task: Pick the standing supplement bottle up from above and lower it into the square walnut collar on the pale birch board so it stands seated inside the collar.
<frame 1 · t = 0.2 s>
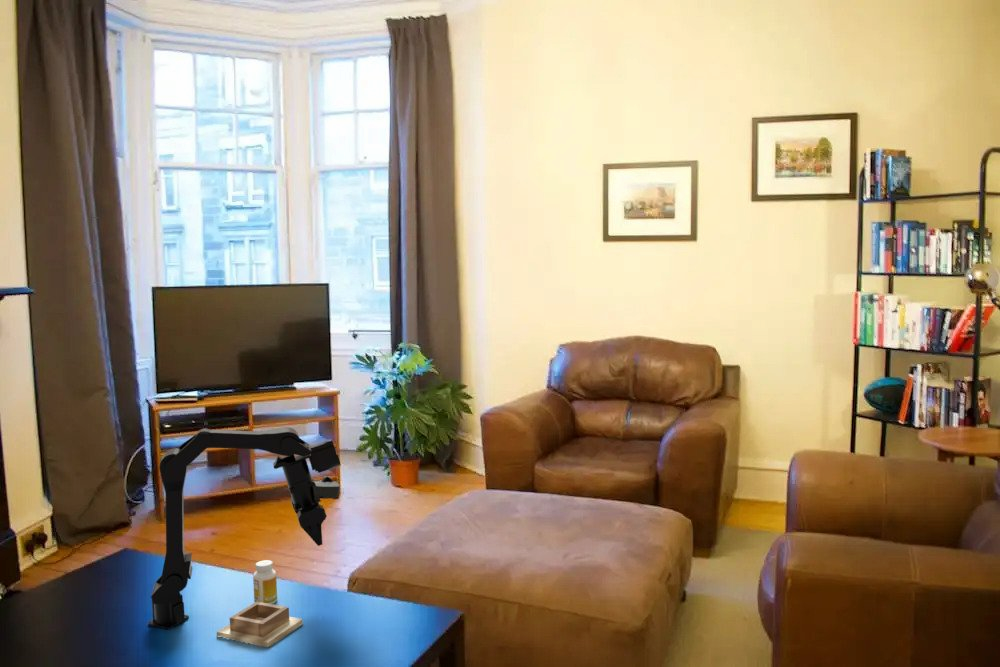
hand: (317, 539, 194), 15 cm above the table, tool pointing down, fingers open, 9 cm apart
collar board: (260, 630, 180), on the table
supplement bottle: (266, 602, 195), on the table
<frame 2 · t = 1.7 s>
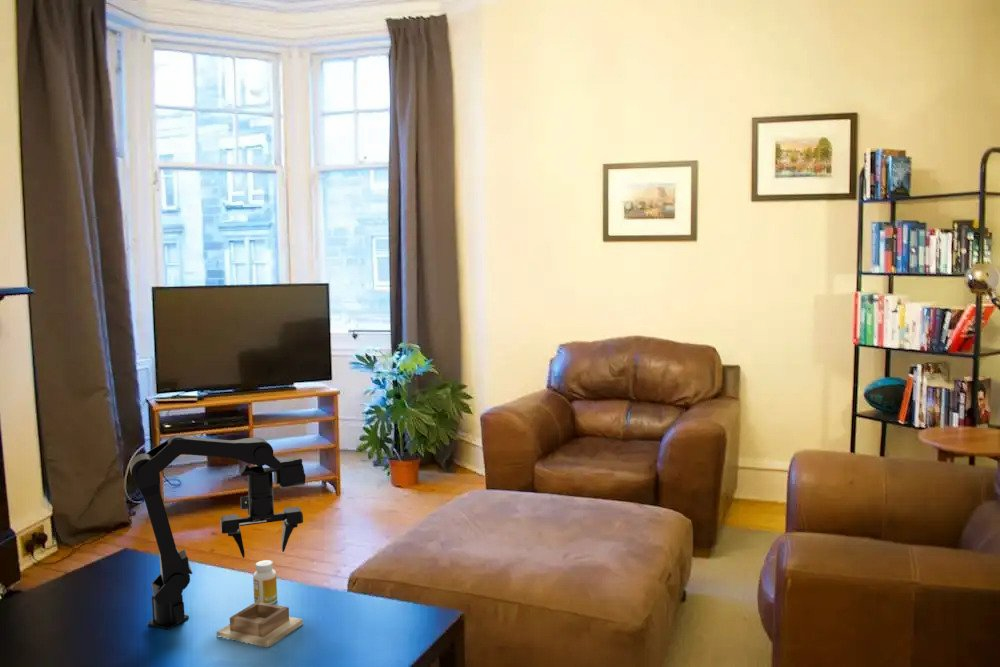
hand: (263, 554, 194), 12 cm above the table, tool pointing down, fingers open, 9 cm apart
nothing on the table moved.
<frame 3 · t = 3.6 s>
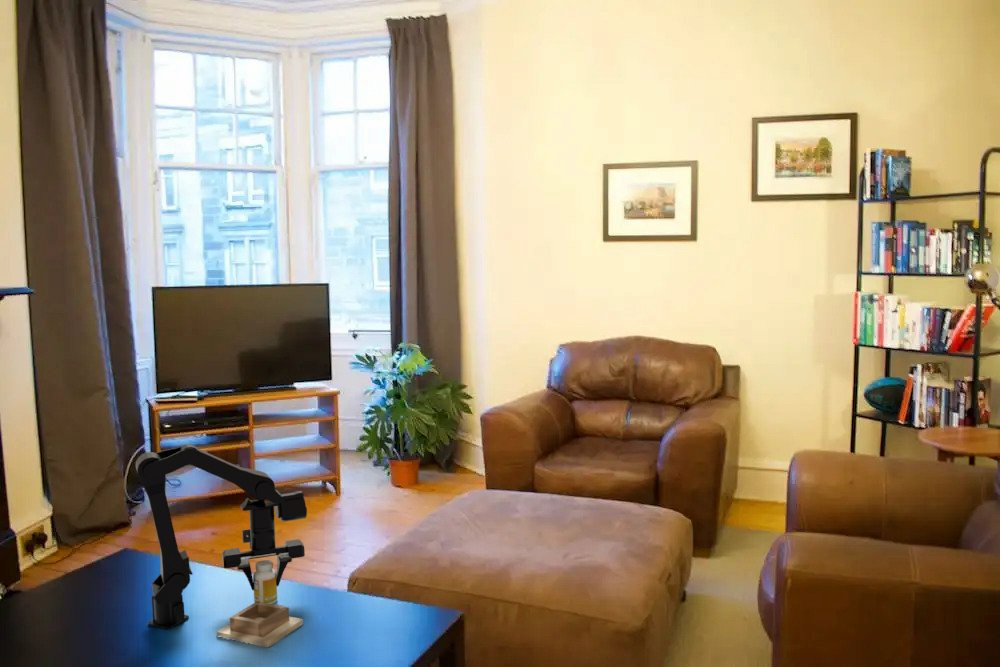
hand: (265, 587, 195), 4 cm above the table, tool pointing down, fingers closed on supplement bottle, 5 cm apart
supplement bottle: (266, 602, 195), on the table, touching gripper
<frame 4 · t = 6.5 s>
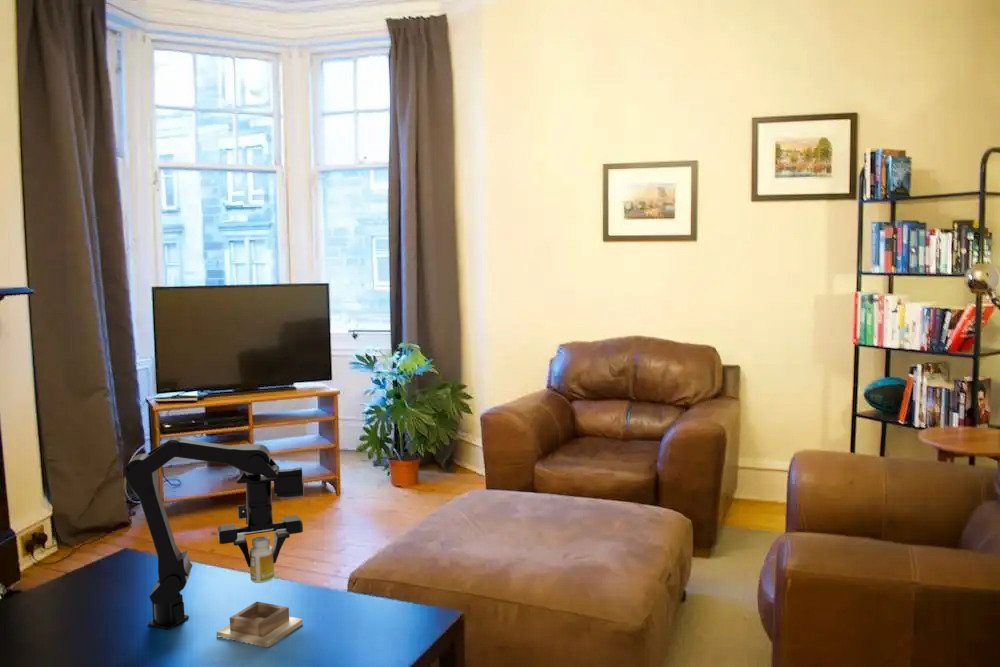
hand: (261, 564, 189), 11 cm above the table, tool pointing down, fingers closed on supplement bottle, 5 cm apart
supplement bottle: (262, 579, 189), point 8 cm above the table, touching gripper
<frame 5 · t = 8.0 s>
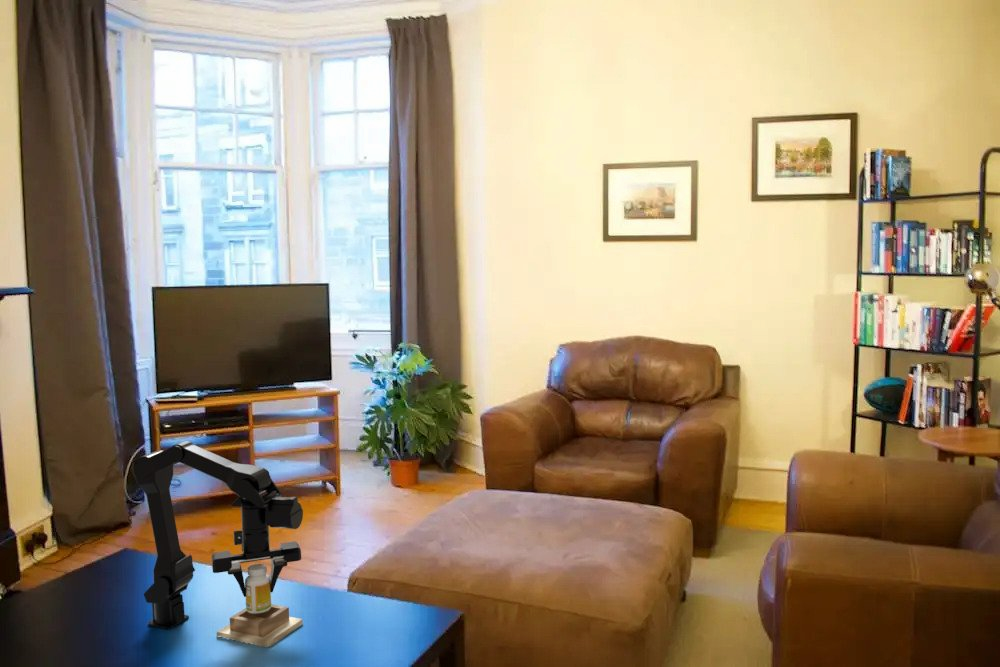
hand: (258, 593, 179), 8 cm above the table, tool pointing down, fingers closed on supplement bottle, 5 cm apart
supplement bottle: (258, 609, 180), point 5 cm above the table, touching gripper
when the fingers open (5 cm above the table, at t = 9.5 s): supplement bottle stays where it is, resting on collar board.
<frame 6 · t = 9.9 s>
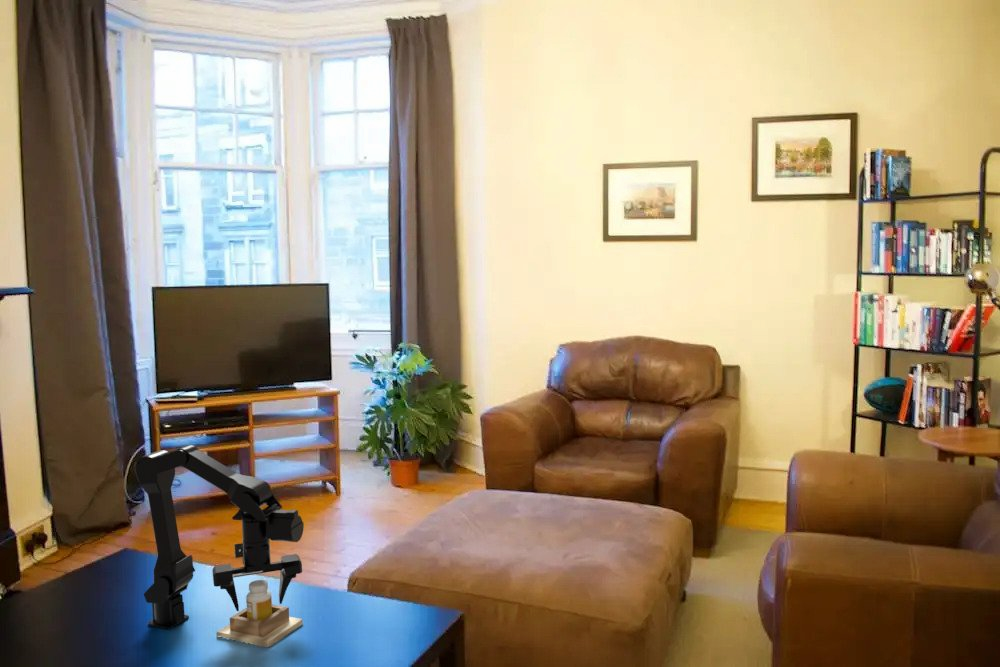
hand: (259, 606, 180), 5 cm above the table, tool pointing down, fingers open, 9 cm apart
supplement bottle: (260, 626, 180), point 1 cm above the table, touching collar board
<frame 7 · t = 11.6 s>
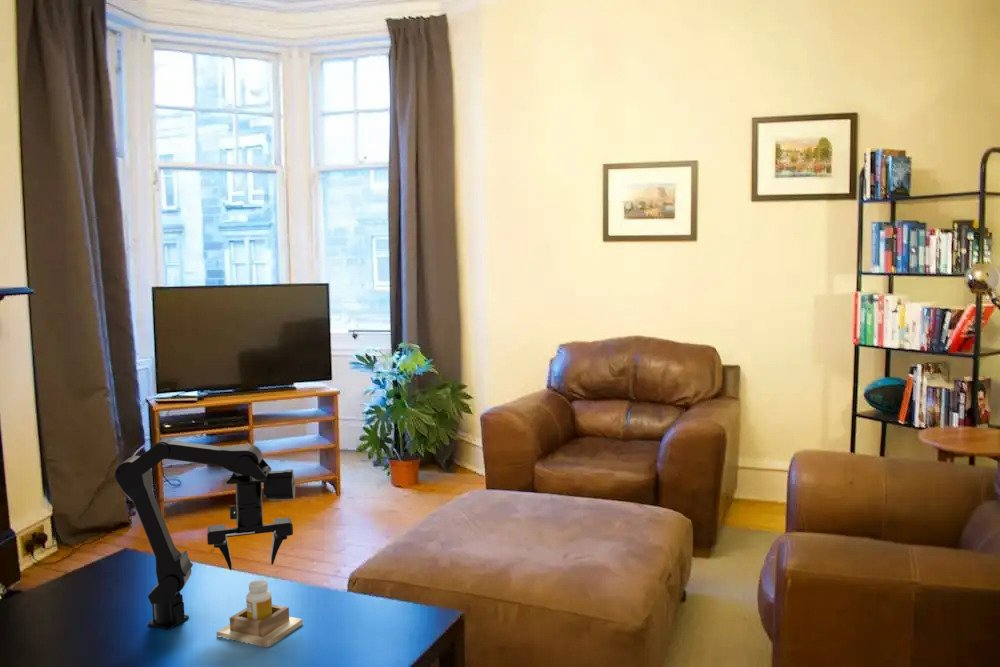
hand: (251, 566, 187), 12 cm above the table, tool pointing down, fingers open, 9 cm apart
nothing on the table moved.
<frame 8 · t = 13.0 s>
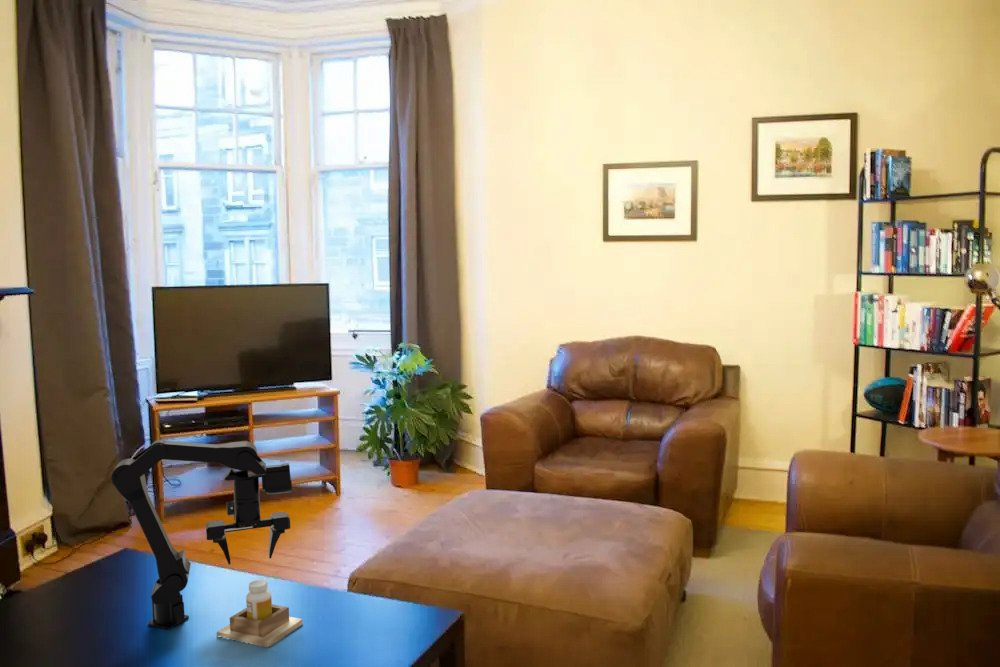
hand: (249, 560, 190), 12 cm above the table, tool pointing down, fingers open, 9 cm apart
nothing on the table moved.
at the end: supplement bottle 0.1 cm off-centre on the collar board, point 1.0 cm above the collar board's base; supplement bottle tilted 0°; the gripper is holding nothing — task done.
